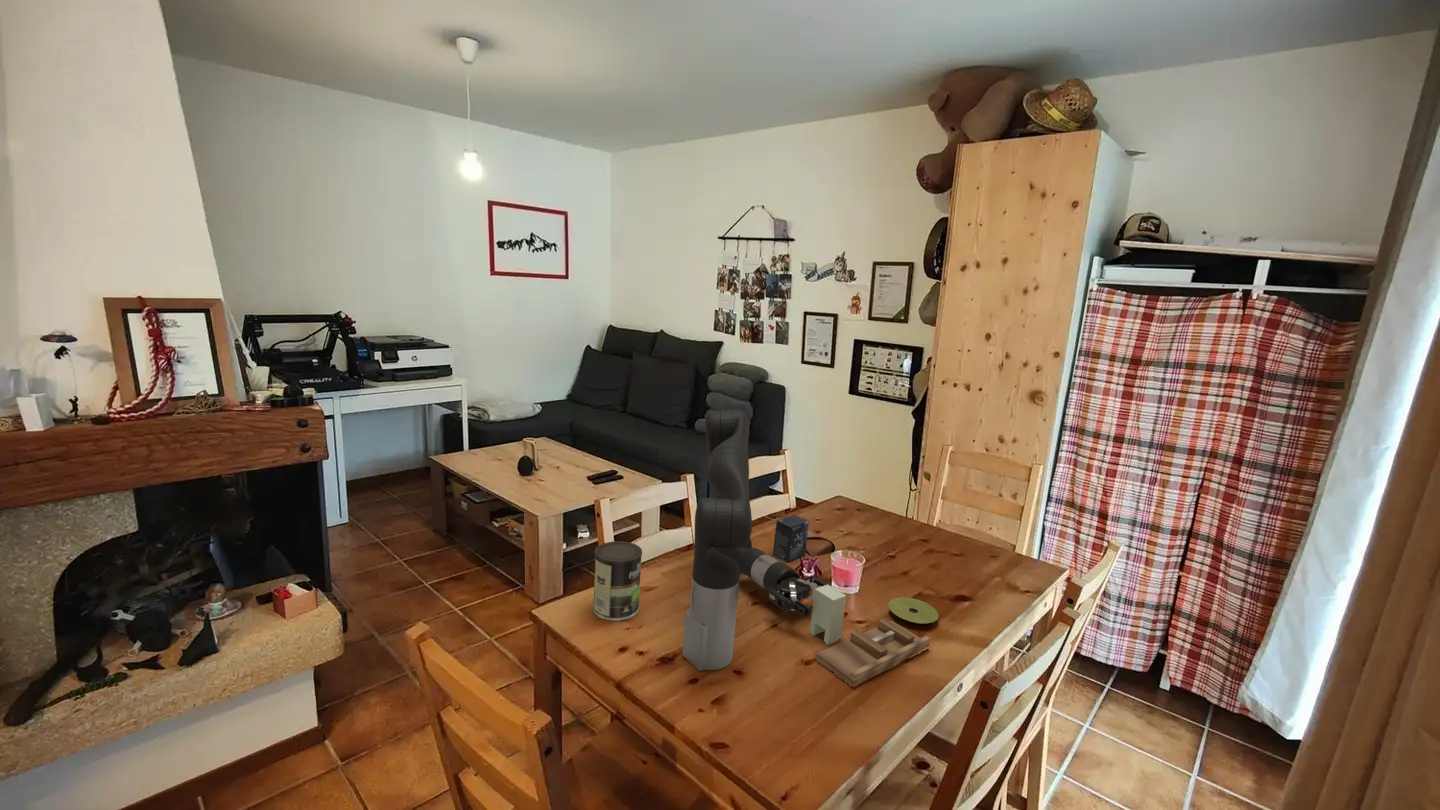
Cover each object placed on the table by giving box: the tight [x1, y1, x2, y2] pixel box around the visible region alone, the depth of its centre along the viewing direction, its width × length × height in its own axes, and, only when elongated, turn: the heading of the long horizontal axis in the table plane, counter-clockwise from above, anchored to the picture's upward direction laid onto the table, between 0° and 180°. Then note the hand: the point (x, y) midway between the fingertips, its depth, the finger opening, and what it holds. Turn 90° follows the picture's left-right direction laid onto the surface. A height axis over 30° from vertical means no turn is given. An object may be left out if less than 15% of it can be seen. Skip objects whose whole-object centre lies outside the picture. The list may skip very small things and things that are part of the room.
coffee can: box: [592, 540, 643, 622], centre depth 136 cm, size 10×10×14 cm
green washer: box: [888, 597, 939, 625], centre depth 143 cm, size 11×11×2 cm
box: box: [772, 514, 810, 563], centre depth 169 cm, size 8×6×11 cm
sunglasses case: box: [805, 528, 836, 558], centre depth 179 cm, size 18×7×7 cm
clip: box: [809, 584, 847, 646], centre depth 132 cm, size 4×5×10 cm
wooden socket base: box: [815, 617, 931, 686], centre depth 127 cm, size 24×10×4 cm, turn 127°
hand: (823, 607), depth 133 cm, fingers open, 8 cm apart
